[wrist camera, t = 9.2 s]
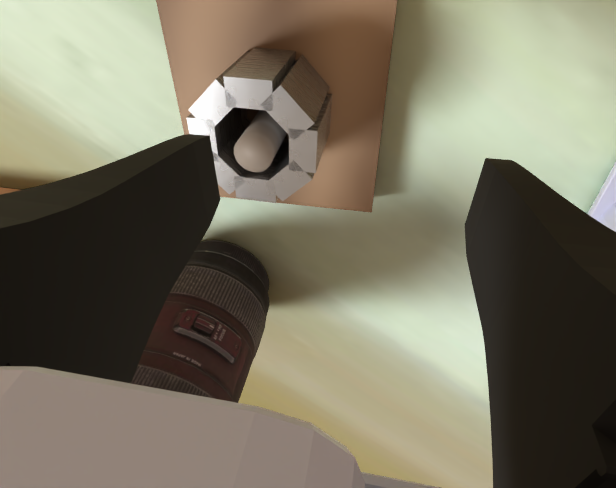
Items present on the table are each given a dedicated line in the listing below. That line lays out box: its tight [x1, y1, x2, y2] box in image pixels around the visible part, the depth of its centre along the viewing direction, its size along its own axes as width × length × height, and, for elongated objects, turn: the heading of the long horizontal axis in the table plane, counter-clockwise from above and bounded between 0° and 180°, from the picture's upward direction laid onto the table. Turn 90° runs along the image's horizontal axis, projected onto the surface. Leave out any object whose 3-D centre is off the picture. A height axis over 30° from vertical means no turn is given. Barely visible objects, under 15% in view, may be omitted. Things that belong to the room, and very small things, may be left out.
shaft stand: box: [156, 0, 397, 212], centre depth 18 cm, size 10×10×6 cm
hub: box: [187, 47, 332, 203], centre depth 17 cm, size 5×5×4 cm
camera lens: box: [131, 240, 269, 403], centre depth 24 cm, size 8×8×15 cm
